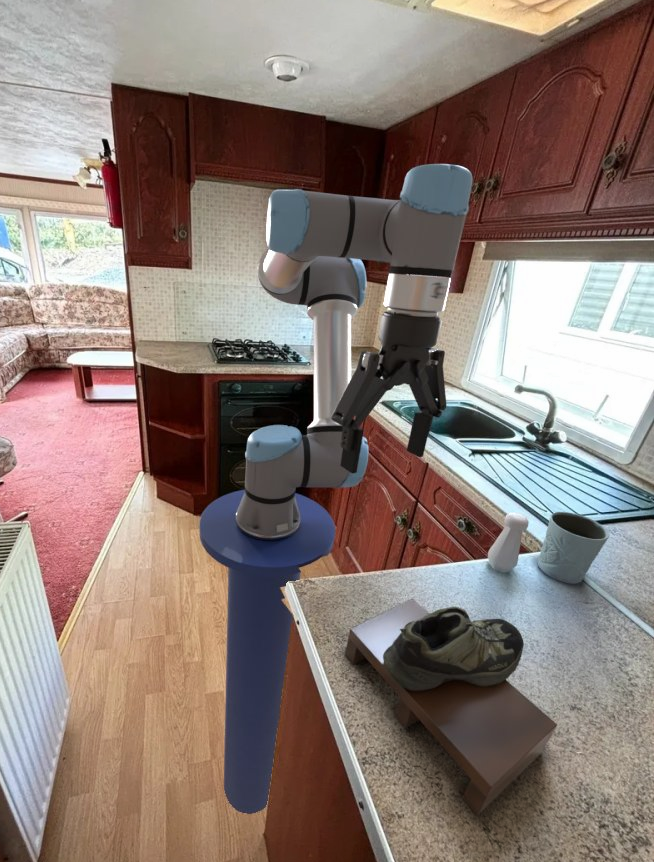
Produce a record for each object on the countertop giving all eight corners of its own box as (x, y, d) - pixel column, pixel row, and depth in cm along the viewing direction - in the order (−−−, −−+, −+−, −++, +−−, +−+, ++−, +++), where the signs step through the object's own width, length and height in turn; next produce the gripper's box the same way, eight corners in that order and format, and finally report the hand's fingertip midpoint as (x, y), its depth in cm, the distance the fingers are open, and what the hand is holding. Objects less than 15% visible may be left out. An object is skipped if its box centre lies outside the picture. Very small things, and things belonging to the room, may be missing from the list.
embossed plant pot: (596, 579, 86) (619, 533, 82) (568, 592, 82) (591, 544, 77) (550, 551, 95) (569, 507, 90) (522, 561, 90) (540, 516, 85)
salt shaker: (480, 565, 88) (498, 515, 83) (490, 554, 92) (507, 505, 87) (509, 579, 85) (529, 528, 79) (517, 567, 88) (537, 517, 83)
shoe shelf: (344, 655, 65) (349, 628, 63) (405, 623, 72) (412, 598, 69) (476, 816, 47) (491, 787, 44) (541, 753, 53) (557, 724, 51)
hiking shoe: (536, 675, 57) (559, 626, 53) (406, 712, 51) (422, 660, 47) (491, 628, 65) (509, 582, 61) (373, 655, 58) (385, 606, 55)
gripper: (357, 315, 43) (332, 489, 52) (496, 316, 55) (457, 457, 64) (316, 307, 49) (300, 465, 57) (450, 310, 61) (420, 439, 70)
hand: (383, 461), depth 61 cm, fingers open, 13 cm apart
